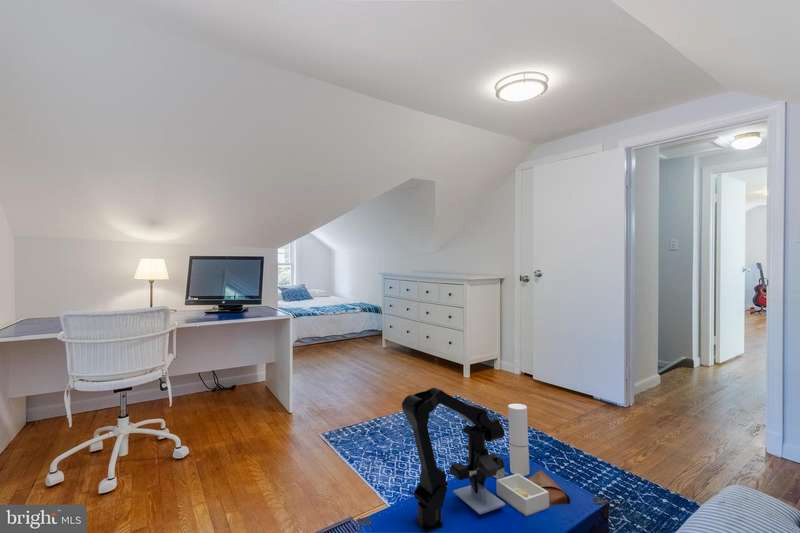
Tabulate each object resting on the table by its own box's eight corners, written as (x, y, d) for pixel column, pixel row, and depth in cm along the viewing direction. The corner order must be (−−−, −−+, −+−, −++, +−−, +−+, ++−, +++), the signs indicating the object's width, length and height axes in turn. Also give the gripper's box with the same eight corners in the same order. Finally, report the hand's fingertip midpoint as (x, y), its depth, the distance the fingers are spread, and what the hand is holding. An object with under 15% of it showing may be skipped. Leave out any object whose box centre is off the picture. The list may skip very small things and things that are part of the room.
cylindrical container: (527, 467, 152) (524, 403, 153) (531, 476, 145) (528, 409, 146) (508, 466, 153) (506, 403, 154) (512, 475, 146) (509, 409, 147)
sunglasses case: (521, 479, 143) (529, 462, 143) (536, 487, 143) (544, 471, 144) (547, 506, 125) (556, 487, 126) (564, 515, 126) (573, 496, 127)
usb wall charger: (495, 472, 149) (495, 461, 149) (510, 479, 143) (509, 468, 143) (488, 475, 146) (488, 464, 147) (503, 482, 141) (502, 471, 141)
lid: (479, 518, 118) (478, 499, 119) (453, 495, 131) (453, 478, 132) (505, 509, 123) (504, 490, 123) (477, 488, 136) (477, 471, 136)
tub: (526, 516, 120) (525, 499, 120) (496, 494, 133) (496, 480, 133) (549, 507, 124) (548, 491, 125) (518, 487, 137) (518, 473, 137)
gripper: (468, 460, 117) (469, 512, 116) (514, 447, 125) (516, 496, 124) (448, 446, 127) (449, 495, 126) (492, 436, 135) (494, 481, 134)
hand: (478, 492), depth 127 cm, fingers closed on lid
